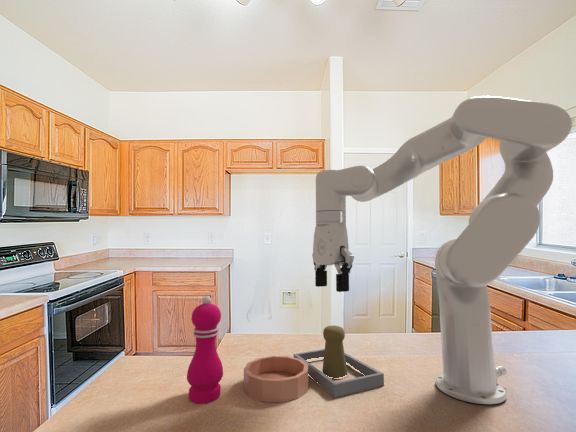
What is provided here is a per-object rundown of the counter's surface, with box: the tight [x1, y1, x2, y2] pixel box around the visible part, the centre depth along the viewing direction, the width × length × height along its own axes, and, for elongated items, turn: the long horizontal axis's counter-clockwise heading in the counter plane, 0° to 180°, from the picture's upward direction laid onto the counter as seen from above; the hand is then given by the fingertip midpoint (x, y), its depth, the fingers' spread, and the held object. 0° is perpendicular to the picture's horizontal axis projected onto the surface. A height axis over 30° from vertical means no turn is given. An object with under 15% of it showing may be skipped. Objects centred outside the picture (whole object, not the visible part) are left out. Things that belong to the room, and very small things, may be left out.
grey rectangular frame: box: [292, 348, 385, 398], centre depth 72 cm, size 13×20×2 cm, turn 24°
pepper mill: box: [186, 295, 224, 405], centre depth 62 cm, size 7×7×20 cm
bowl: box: [243, 355, 309, 403], centre depth 66 cm, size 14×14×4 cm
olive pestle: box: [321, 325, 348, 378], centre depth 72 cm, size 6×6×11 cm
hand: (331, 288), depth 74 cm, fingers open, 9 cm apart
